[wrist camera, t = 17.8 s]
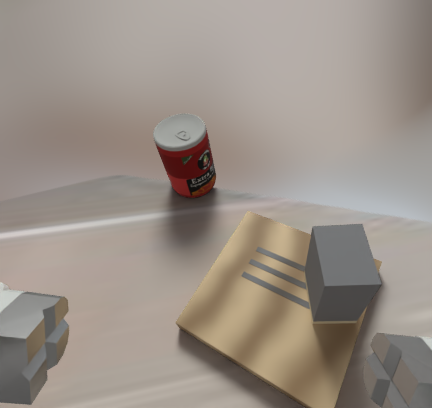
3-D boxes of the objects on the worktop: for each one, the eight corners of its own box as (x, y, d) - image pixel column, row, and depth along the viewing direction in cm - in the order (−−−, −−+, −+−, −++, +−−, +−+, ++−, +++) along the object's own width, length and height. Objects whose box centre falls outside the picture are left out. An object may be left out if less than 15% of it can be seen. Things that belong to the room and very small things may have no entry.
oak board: (179, 328, 37) (175, 322, 36) (248, 218, 46) (247, 210, 44) (327, 421, 30) (330, 419, 28) (377, 269, 38) (381, 261, 37)
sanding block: (355, 323, 33) (381, 284, 25) (312, 324, 34) (324, 286, 26) (342, 271, 37) (361, 223, 29) (303, 272, 37) (312, 226, 30)
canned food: (198, 206, 49) (182, 154, 41) (162, 187, 53) (141, 136, 44) (226, 175, 52) (216, 121, 44) (190, 160, 56) (175, 107, 48)
